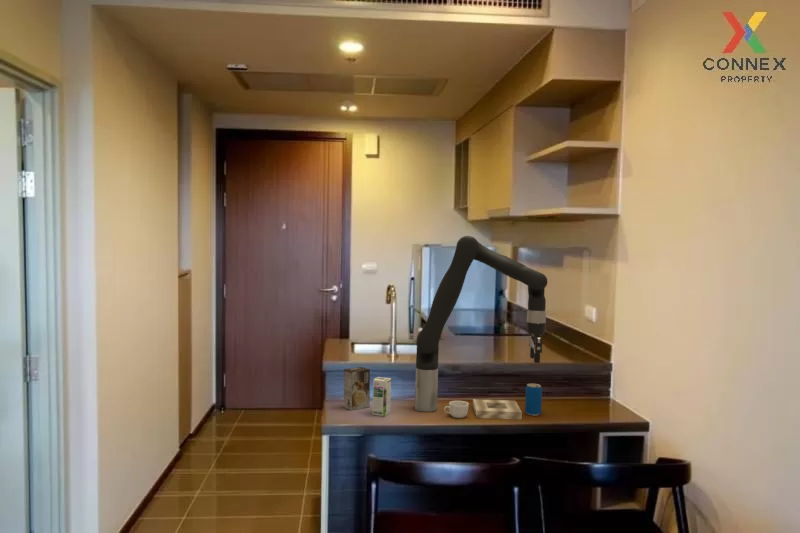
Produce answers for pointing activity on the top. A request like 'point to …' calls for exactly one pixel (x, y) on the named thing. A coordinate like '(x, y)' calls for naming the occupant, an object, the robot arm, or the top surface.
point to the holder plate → (497, 409)
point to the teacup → (458, 408)
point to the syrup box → (381, 396)
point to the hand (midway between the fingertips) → (534, 360)
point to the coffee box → (356, 388)
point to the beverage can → (533, 399)
